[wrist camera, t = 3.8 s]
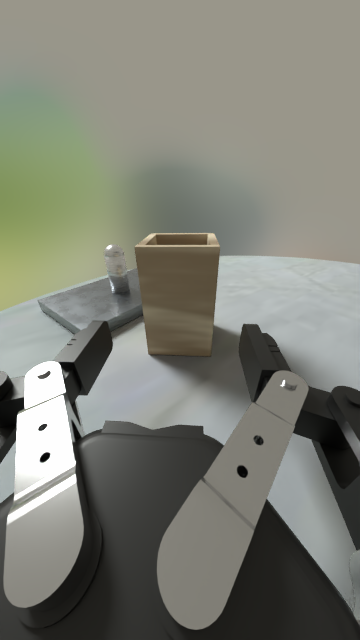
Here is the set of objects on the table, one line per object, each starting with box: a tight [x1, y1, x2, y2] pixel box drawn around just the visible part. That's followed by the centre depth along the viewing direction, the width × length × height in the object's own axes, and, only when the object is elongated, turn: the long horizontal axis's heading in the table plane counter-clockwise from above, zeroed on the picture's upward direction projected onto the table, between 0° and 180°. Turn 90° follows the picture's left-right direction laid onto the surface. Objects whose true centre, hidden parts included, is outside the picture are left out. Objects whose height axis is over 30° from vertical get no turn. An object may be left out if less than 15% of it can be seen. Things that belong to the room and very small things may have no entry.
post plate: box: [38, 244, 143, 334], centre depth 28 cm, size 18×12×8 cm, turn 141°
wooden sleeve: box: [135, 233, 220, 356], centre depth 19 cm, size 6×6×10 cm
